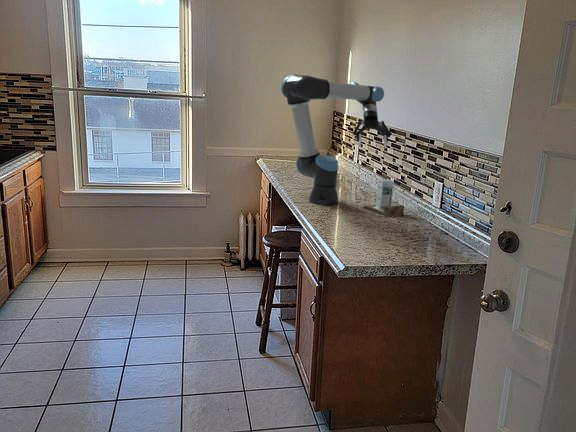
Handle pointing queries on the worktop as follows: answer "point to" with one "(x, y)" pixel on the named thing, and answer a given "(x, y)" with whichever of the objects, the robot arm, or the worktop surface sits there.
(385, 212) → the walnut stand board
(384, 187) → the syrup box
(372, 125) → the robot arm
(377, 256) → the worktop surface
